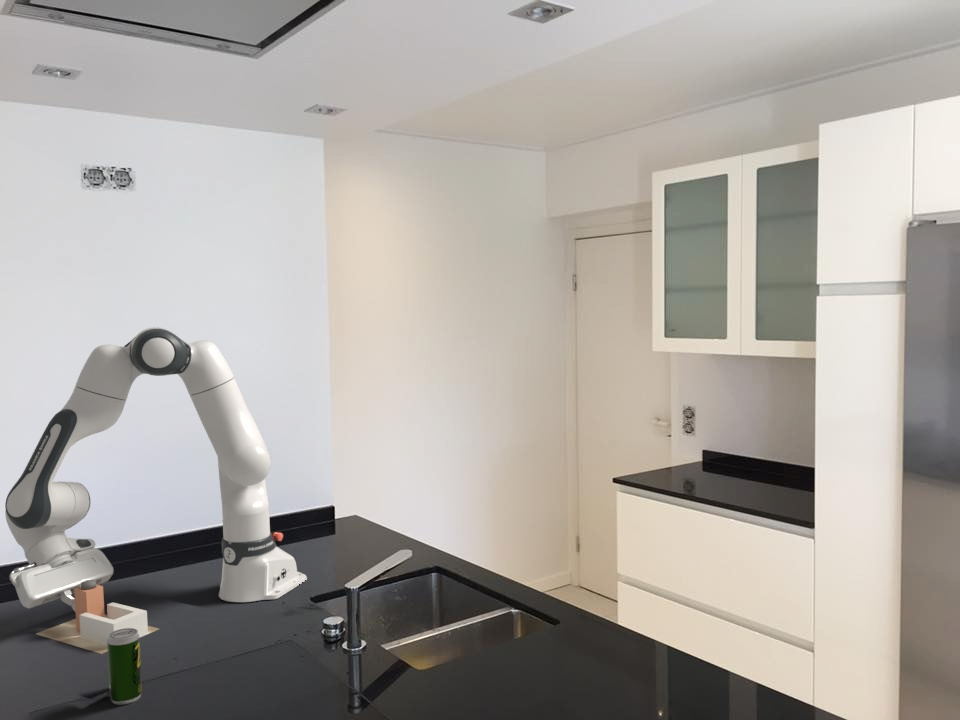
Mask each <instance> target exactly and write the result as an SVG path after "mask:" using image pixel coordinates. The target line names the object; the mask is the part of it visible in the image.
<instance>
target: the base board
mask: <svg viewBox="0 0 960 720" xmlns="http://www.w3.org/2000/svg"><path fill="white" fill-rule="evenodd" d="M105 618H108V614H105ZM159 630H160V628H159V627H158V628H157V627H154V626H151V625H148V634H147V635H149V634H152V633H154V632H156V631H159ZM35 635H38V636H41V637H44V638H47V639H51V640H54V641H58V642H61V643H63V644H66V645H69V646H74V647H76V648H80V649H82V650H83V649H84V650H86V651H87V650H88V651H91V652H93V653H97V654H99V655H103V654H105V653H108V649H107V646H106V645H102V644H99V643H96V642H92V641H89V640H85V639H82V638H81V635H80V631H78V630H77V629H76V618H74V619H71V620H68V621H66V622H63V623H60V624H57V625H55V626H52V627H50V628H47V629H44V630H42V631H39V632H36V633H35ZM145 636H146V635H144V636H142V637H145ZM142 637H141V638H142Z"/></svg>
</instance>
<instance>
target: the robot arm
mask: <svg viewBox="0 0 960 720" xmlns="http://www.w3.org/2000/svg"><path fill="white" fill-rule="evenodd" d="M233 373H234V372H233V371H232V369H231V366H230V365H229V362H227V360H226V358H225V357H224V355H223V353H222V352H221V350H220V349H219V347H218V346H217V345H216V344H215V343H214V342H213V341H208V340H196V341H194V342H190V343H187V342H186V341H184V340H182V339H181V338H180V337H179V336H178V335H176V334H175V333H173V332H172V331H170V330H168V329H167V328H163V327H159V326H158V327H157V326H156V327H155V326H154V327H148V328H145V329H143V330H142V331H140V332H139V333H138V334H136V335H135V336H134V337H133V338H132V339H131V340H130V341H129V342H127V343H126V344H125V345H124V346H119V345H115V344H103V345H99V346H97V347H95V348H93V350H92V351H91V353H90V354H89V356H88V358H87V359H86V361H85V363H84V364H83V367H82V369H81V371H80V374H79V376H78V377H77V380H76V383H75V386H74V388H73V390H72V391H73V392H72V393H71V395H70V397H69V399H68V400H67V402H66V403H65V405H64V406H63V407H62V408H61V410H59V411H58V412H57V413H56V414H54V415H53V417H52V418H51V419H50V420H49V422H48V424H47V426H46V427H45V429H44V431H43V433H42V435H41V437H40V438H39V440H38V443H37V445H36V447H35V449H34V450H33V452H32V454H31V456H30V459H29V460H28V462H27V464H26V466H25V468H24V470H23V472H22V474H21V475H20V477H19V478H18V480H17V481H16V482H15V483H14V485H13V486H12V487H11V489H10V490H9V492H8V494H7V496H6V499H5V504H4V505H5V511H4V512H5V519H6V523H7V525H8V526H7V527H8V528H9V530H10V533H11V534H12V536H13V538H14V540H15V542H16V543H17V544H18V545H19V546H20V547H21V548H22V549H23V551H24V556H25V559H26V560H27V563H28V564H25V565H23V566H19V567H16V568H14V569H13V570H12V571H11V572H10V574H9V581H10V582H11V583H12V585H13V586H14V587H15V591H16V593H17V597H18V599H19V601H20V603H21V605H22V607H24V608H26V609H32V608H35V607H37V606H41V605H44V604H47V603H49V602H52V601H55V600H57V599H60V600H61V601H62V602H63V603H65V604H66V605H68V606H69V607H71V608H72V610H73V611H74V612H75V613H76V611H75V597H73V596H72V594H75V592H74V589H76V588H79V587H81V582H83V581H86V580H96V585H101V584H105V583H107V582H108V581H109V580H110V579H111V577H112V576H113V575H114V567H113V565H112V563H111V562H110V560H109V559H108V557H107V556H106V555H105V553H104V552H103V551H102V550H100V549H99V548H95V547H96V542H95V540H94V539H92V538H73V537H67V535H66V534H65V532H66V530H70V529H71V528H72V527H74V526H75V525H76V524H78V523H80V522H81V521H82V520H83V519H85V517H86V516H87V514H88V513H89V510H90V507H91V495H90V492H89V491H88V489H87V488H86V487H85V486H84V484H82V483H81V482H74V481H54V479H55V477H56V475H57V473H58V471H59V468H60V467H61V465H62V463H63V461H64V459H65V457H66V454H68V451H69V450H70V449H71V448H72V447H73V446H74V445H75V444H76V443H78V442H79V441H81V440H83V439H85V438H88V437H90V436H92V435H95V434H98V433H102V432H104V431H106V430H108V429H109V428H111V427H113V426H114V425H115V424H116V423H117V422H118V420H119V419H120V417H121V415H122V412H123V411H124V409H125V405H126V402H127V399H128V396H129V393H130V391H131V390H130V389H131V388H132V385H133V383H134V382H135V380H136V379H137V378H139V376H141V375H144V374H145V375H149V376H156V377H157V376H158V377H160V376H161V377H162V376H163V377H164V376H169V375H178V377H180V378H181V380H182V382H183V383H184V386H185V388H186V390H187V393H188V395H189V397H190V399H191V401H192V403H193V406H194V408H195V410H196V413H197V415H198V417H199V419H200V422H201V424H202V426H203V429H204V430H205V433H206V434H207V436H208V439H209V441H210V444H211V445H212V447H213V449H214V451H215V454H216V456H217V466H218V479H219V488H220V499H221V500H220V501H221V510H222V534H223V535H222V536H223V537H222V538H221V554H222V557H223V558H222V568H221V579H220V580H221V581H220V584H219V592H218V598H219V599H220V600H223V601H225V602H230V603H251V602H256V601H257V602H258V601H262V600H263V601H265V600H277V599H279V598H280V597H283V595H286V594H287V593H288V592H290V591H292V590H294V589H296V587H298V586H300V585H301V584H303V583H304V582H306V581H307V580H308V577H307V575H306V574H304V573H302V572H300V571H298V567H297V562H296V560H295V557H293V556H292V555H291V554H290V553H288V552H286V551H284V550H283V549H281V548H280V547H278V546H277V544H276V541H278V542H282V540H283V538H284V534H283V533H282V532H273V533H272V532H271V525H270V524H271V523H270V522H271V521H270V501H269V496H268V489H267V480H266V477H267V476H268V475H269V473H270V471H271V466H272V458H271V457H272V456H271V454H270V451H269V449H268V446H267V445H266V443H265V440H264V438H263V437H262V434H261V432H260V430H259V428H258V425H257V423H256V422H255V420H254V417H253V415H252V414H251V413H252V412H250V410H249V408H248V405H247V403H246V401H245V398H244V396H243V394H242V391H241V389H240V388H239V384H238V383H237V379H236V378H235V376H234V374H233ZM305 580H306V581H305ZM302 582H303V583H302ZM299 584H300V585H299Z"/></svg>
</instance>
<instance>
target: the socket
mask: <svg viewBox="0 0 960 720" xmlns="http://www.w3.org/2000/svg"><path fill="white" fill-rule="evenodd" d="M106 607H107V609H106V610H107V611H106V612H107V614H106V615H108V618H105V617H101V616H97V615H93V614H90V613H83V614H81V615H79V616H80V635H81V638H82V639H85V640H89V641H92V642H96V643H99V644H102V645H106V646H107V640H108V635H109V634H110V633H112V632H113V631H116V630H119V629H125V628H134V629H137V630H138V634H139V638H142V636H143V637H145V636H146V635H149V634H148V626H149V625H148V611H147V610H145V609H141V608H137V607H133V606H129V605H124V604H120V603H118V602H110V603H107V604H106ZM144 635H145V636H144Z"/></svg>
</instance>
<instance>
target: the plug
mask: <svg viewBox="0 0 960 720" xmlns="http://www.w3.org/2000/svg"><path fill="white" fill-rule="evenodd" d="M74 592H75V593H74V598H75V611H76V612H75V611H74V612H75V619H76V629H77V630H78V631H80V616H79V615H81V614H83V613H90V614H93V615H97V616H101V617H105V615H106V614H105V599H104V586H103V585H101V584H99V585H96V580H86V581H83V582H81V587H79V588H76V589H74Z"/></svg>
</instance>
